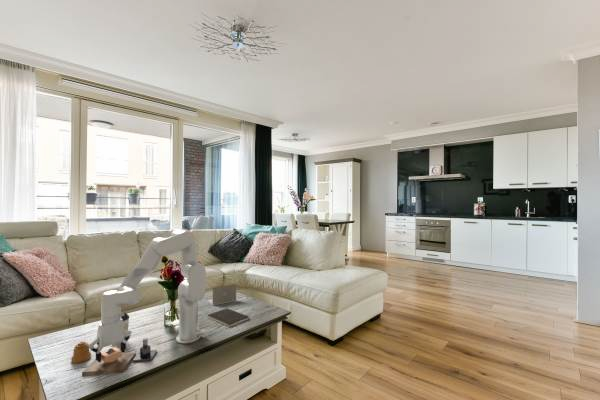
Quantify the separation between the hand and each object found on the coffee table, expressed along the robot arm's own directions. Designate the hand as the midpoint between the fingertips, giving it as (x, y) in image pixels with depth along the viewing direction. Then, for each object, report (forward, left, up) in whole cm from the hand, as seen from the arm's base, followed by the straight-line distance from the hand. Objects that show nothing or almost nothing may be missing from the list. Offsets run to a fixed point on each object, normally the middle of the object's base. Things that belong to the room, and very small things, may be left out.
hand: (111, 356), depth 131 cm
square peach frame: (0, 0, 0) cm, 0 cm away
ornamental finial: (+16, -7, -4) cm, 18 cm away
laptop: (-39, -81, -4) cm, 91 cm away
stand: (-13, -5, -4) cm, 14 cm away
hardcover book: (-48, -47, -5) cm, 67 cm away
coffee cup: (+6, -22, -4) cm, 23 cm away
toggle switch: (0, 0, -4) cm, 4 cm away
